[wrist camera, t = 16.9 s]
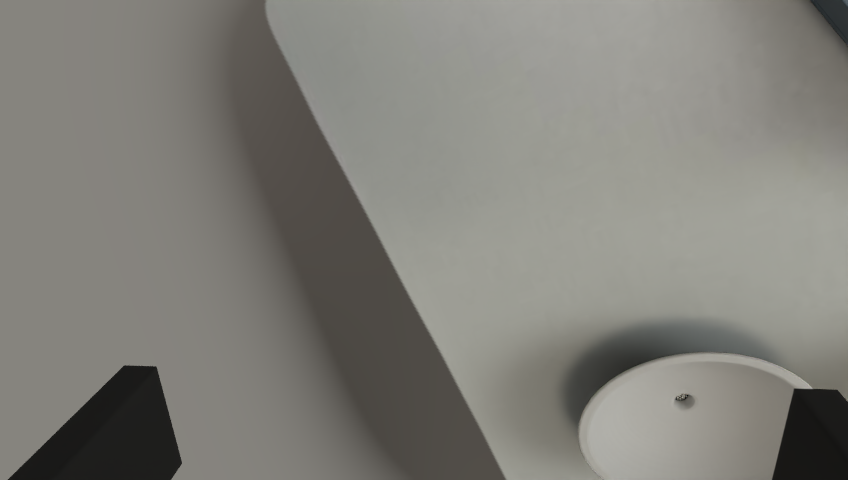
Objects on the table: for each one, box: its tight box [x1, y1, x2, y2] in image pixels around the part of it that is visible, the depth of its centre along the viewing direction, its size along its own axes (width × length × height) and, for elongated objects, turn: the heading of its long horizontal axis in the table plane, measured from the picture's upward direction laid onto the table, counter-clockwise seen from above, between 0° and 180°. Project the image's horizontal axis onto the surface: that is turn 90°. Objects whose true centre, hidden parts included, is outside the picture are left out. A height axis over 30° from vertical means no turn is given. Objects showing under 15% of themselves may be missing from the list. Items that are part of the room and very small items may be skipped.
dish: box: [578, 352, 813, 480], centre depth 45 cm, size 18×14×5 cm
